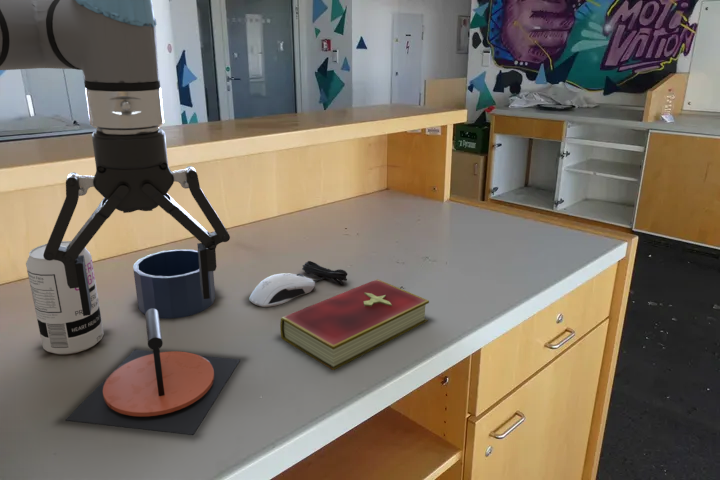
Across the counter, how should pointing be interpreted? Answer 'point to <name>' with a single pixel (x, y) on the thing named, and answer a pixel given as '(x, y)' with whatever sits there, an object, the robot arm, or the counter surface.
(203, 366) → the lid
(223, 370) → the mat
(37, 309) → the supplement can
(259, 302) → the computer mouse
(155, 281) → the lunch tin
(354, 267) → the counter surface
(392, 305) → the hardcover book
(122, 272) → the counter surface
